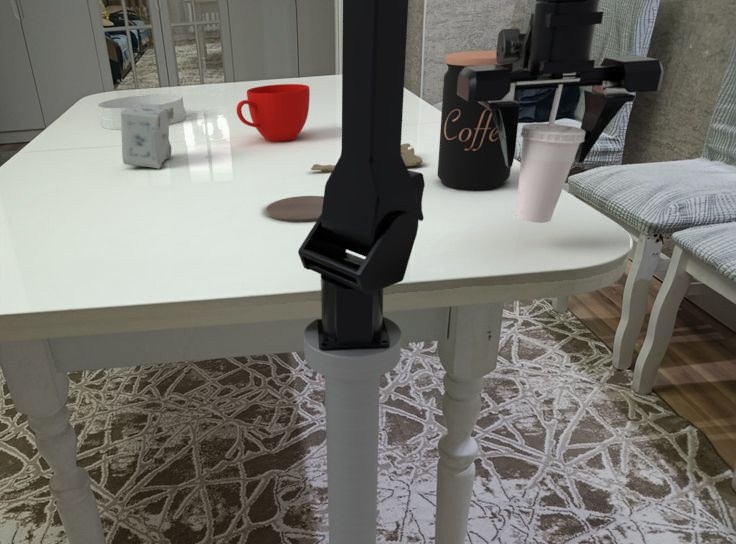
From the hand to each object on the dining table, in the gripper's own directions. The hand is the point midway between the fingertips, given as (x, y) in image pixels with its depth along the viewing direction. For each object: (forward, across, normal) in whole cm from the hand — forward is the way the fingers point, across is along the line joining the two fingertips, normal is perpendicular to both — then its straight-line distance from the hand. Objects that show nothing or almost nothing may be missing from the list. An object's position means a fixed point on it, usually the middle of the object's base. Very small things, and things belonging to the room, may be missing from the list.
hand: (543, 164), depth 69 cm
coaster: (+9, +26, -19) cm, 33 cm away
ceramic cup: (+10, +32, -68) cm, 76 cm away
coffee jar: (+10, 0, -28) cm, 30 cm away
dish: (+9, +67, -102) cm, 122 cm away
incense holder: (+10, +55, -53) cm, 77 cm away
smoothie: (+6, 0, 0) cm, 6 cm away
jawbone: (+10, +15, -43) cm, 47 cm away
